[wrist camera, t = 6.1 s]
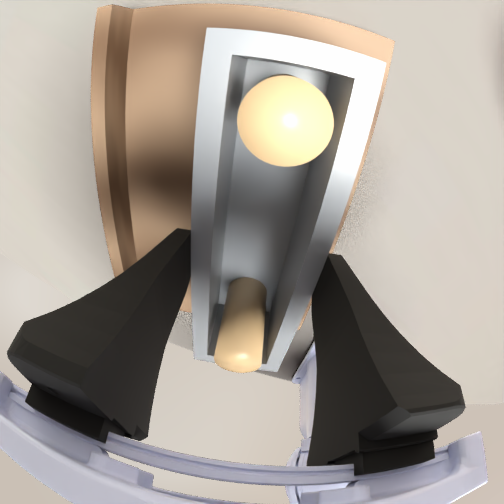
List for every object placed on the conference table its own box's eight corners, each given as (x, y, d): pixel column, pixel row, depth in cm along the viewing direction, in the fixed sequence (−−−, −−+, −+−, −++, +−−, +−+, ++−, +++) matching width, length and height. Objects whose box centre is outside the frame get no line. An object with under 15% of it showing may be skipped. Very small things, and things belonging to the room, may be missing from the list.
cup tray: (279, 309, 19) (276, 386, 15) (209, 298, 19) (190, 373, 15) (346, 63, 10) (400, 63, 5) (234, 42, 9) (197, 22, 5)
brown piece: (298, 310, 22) (300, 351, 19) (144, 283, 22) (127, 320, 19) (380, 43, 10) (413, 39, 7) (137, 15, 10) (97, 8, 7)
